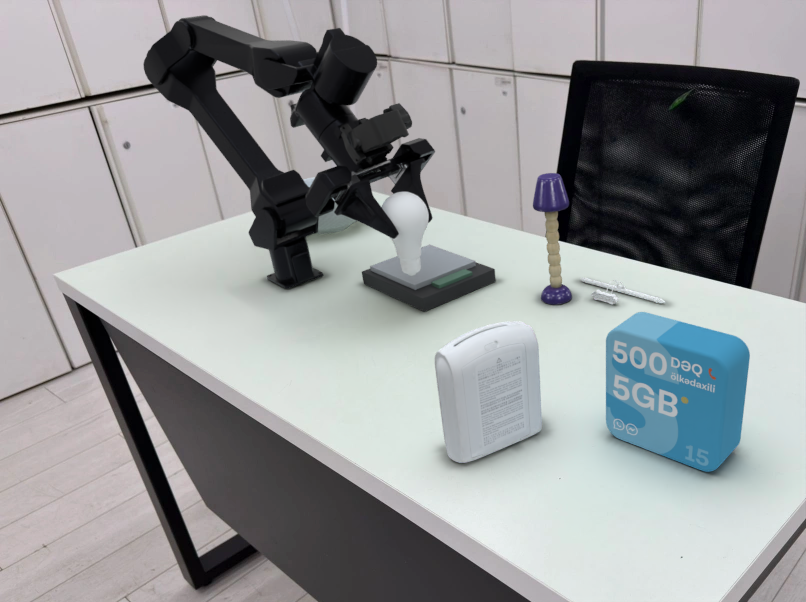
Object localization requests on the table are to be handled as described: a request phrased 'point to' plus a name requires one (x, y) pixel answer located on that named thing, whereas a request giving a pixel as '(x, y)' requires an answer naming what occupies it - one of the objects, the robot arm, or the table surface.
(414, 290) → the scale
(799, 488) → the table surface
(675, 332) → the data package
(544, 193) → the toy lamp
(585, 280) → the picture light
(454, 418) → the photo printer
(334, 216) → the cereal bowl
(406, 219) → the lightbulb
